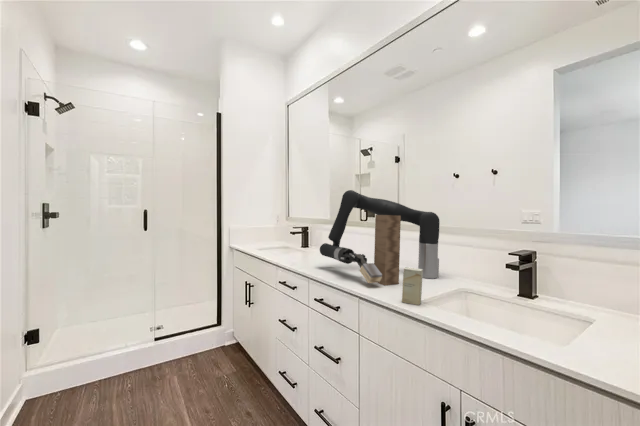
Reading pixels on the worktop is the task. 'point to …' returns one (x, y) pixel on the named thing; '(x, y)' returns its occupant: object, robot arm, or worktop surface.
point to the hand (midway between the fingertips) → (363, 260)
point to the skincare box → (412, 285)
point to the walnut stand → (387, 248)
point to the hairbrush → (369, 270)
